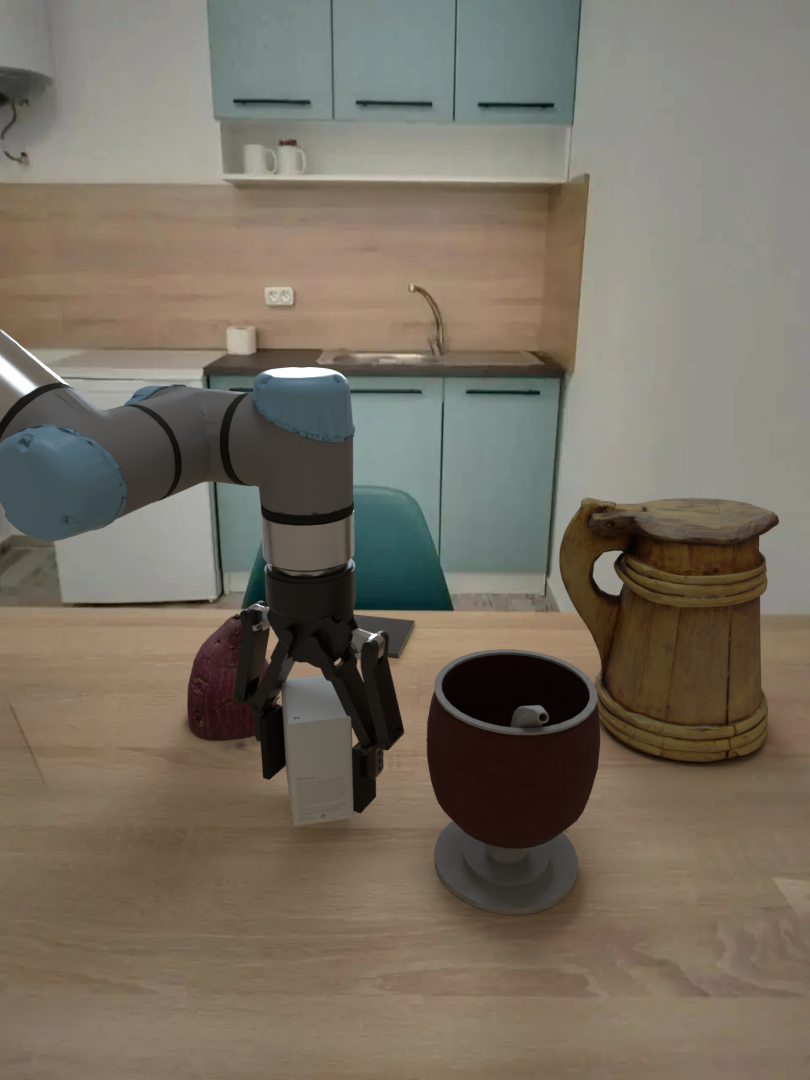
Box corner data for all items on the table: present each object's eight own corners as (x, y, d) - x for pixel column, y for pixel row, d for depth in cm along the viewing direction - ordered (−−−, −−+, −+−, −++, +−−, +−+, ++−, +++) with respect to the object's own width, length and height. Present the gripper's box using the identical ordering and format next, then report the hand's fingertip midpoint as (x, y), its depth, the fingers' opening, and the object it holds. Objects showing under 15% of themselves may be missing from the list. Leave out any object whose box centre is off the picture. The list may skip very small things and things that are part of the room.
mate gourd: (417, 812, 77) (418, 618, 70) (562, 804, 79) (578, 613, 72) (438, 945, 63) (443, 718, 56) (616, 933, 64) (642, 709, 57)
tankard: (787, 774, 83) (832, 541, 74) (550, 754, 86) (566, 527, 78) (745, 683, 100) (777, 484, 91) (547, 669, 103) (561, 475, 94)
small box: (355, 820, 73) (353, 717, 70) (291, 828, 72) (286, 724, 69) (343, 766, 81) (340, 671, 77) (285, 773, 80) (280, 677, 76)
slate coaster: (323, 649, 108) (323, 645, 108) (345, 617, 117) (345, 613, 117) (398, 658, 106) (398, 653, 106) (414, 624, 115) (414, 620, 115)
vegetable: (289, 744, 93) (316, 637, 86) (201, 764, 87) (222, 652, 80) (253, 684, 100) (275, 582, 94) (169, 700, 95) (186, 591, 88)
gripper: (449, 569, 67) (443, 800, 74) (234, 525, 76) (249, 734, 84) (405, 603, 60) (404, 851, 68) (177, 551, 70) (199, 774, 78)
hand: (318, 786), depth 76 cm, fingers closed on small box, 9 cm apart
